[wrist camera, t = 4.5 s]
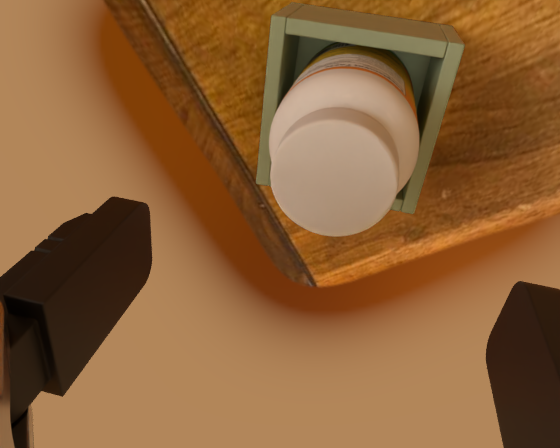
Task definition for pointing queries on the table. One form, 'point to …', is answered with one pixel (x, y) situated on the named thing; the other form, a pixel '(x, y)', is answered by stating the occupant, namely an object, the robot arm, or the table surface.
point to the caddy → (372, 33)
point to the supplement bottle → (344, 140)
